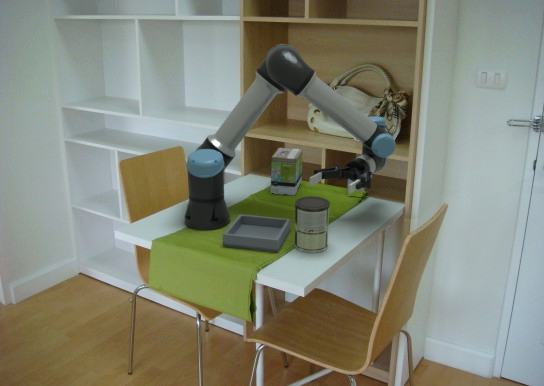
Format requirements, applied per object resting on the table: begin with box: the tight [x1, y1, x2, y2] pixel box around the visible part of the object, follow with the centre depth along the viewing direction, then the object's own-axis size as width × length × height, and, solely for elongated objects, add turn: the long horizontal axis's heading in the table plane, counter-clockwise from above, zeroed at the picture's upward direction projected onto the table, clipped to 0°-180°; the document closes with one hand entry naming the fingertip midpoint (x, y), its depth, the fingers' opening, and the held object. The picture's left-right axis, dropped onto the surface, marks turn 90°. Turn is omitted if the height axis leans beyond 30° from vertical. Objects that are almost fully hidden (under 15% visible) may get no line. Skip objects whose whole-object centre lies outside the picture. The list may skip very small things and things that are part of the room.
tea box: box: [270, 147, 303, 196], centre depth 219 cm, size 15×10×15 cm
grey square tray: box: [222, 213, 292, 253], centre depth 175 cm, size 17×17×4 cm
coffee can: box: [293, 195, 331, 254], centre depth 169 cm, size 10×10×14 cm
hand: (329, 185), depth 173 cm, fingers open, 13 cm apart
